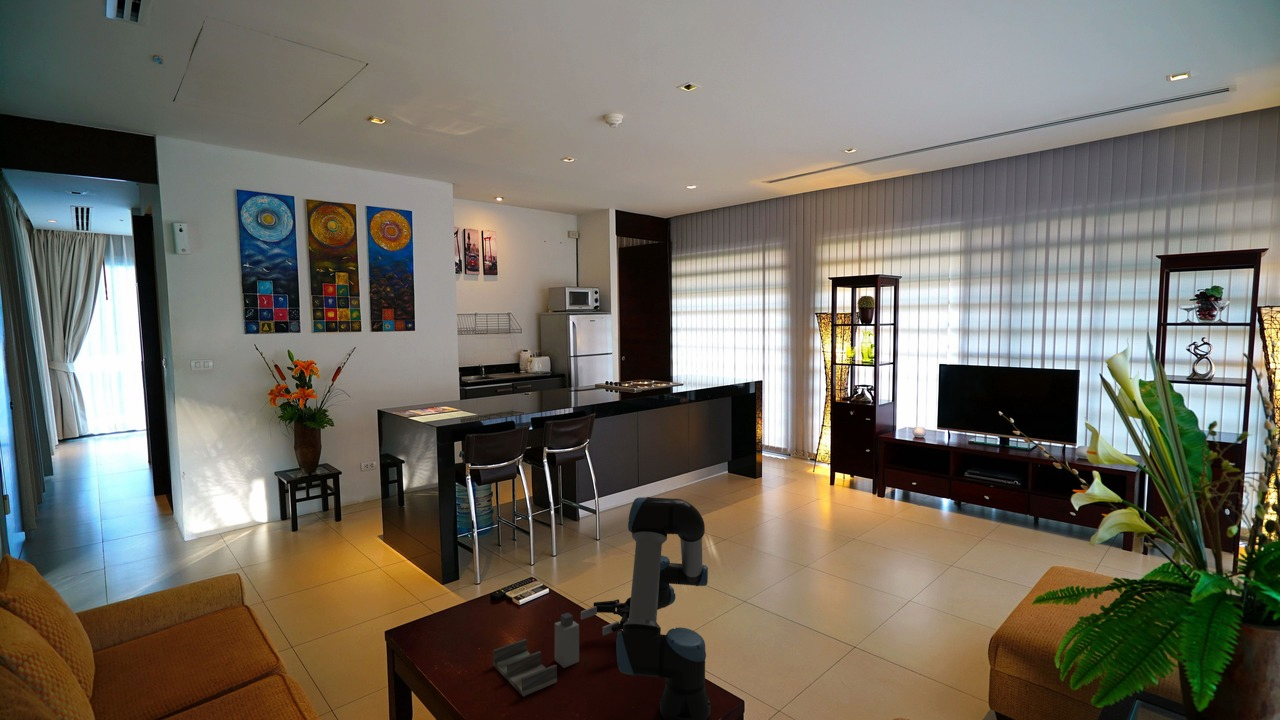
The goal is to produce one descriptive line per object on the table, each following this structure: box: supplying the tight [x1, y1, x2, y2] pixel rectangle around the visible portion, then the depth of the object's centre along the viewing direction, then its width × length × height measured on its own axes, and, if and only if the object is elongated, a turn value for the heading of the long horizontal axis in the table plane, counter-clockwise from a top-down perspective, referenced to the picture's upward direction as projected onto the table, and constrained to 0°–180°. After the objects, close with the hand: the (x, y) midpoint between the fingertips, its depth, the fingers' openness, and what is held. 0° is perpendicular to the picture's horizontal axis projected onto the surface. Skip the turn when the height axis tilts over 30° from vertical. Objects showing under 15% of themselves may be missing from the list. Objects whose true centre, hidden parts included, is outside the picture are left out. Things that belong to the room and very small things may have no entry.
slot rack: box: [492, 638, 558, 697], centre depth 199 cm, size 21×12×6 cm, turn 39°
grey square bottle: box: [554, 612, 580, 669], centre depth 206 cm, size 6×6×16 cm
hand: (591, 623), depth 213 cm, fingers open, 13 cm apart
